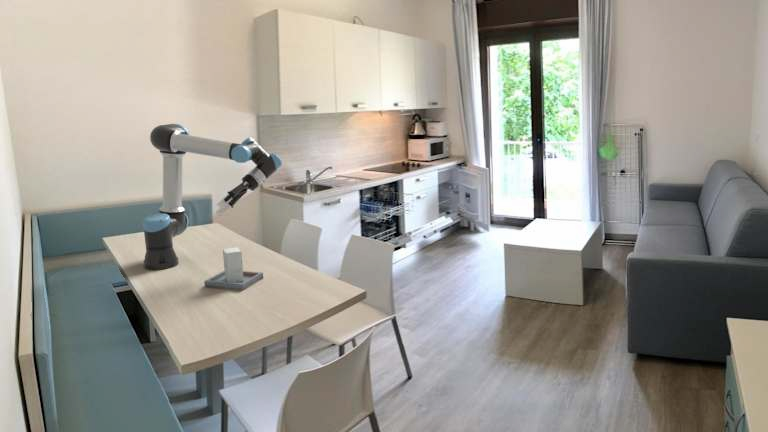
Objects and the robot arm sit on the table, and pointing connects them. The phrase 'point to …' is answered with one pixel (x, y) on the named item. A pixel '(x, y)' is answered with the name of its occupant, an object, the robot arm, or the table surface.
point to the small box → (233, 265)
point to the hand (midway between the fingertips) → (218, 210)
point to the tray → (221, 282)
